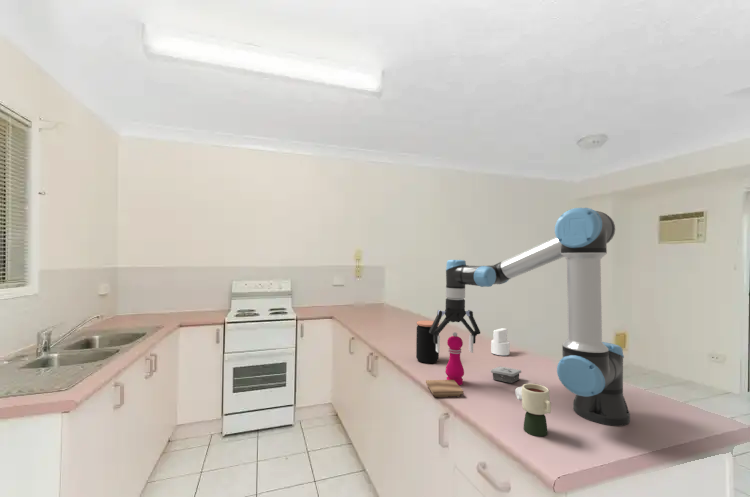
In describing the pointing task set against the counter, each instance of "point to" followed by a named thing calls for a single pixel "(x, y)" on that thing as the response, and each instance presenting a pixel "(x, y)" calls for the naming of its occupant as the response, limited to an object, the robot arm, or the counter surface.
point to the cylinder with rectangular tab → (500, 342)
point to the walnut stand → (444, 388)
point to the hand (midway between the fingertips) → (454, 351)
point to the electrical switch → (506, 374)
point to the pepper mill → (455, 359)
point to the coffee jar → (426, 343)
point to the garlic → (519, 393)
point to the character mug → (535, 408)
